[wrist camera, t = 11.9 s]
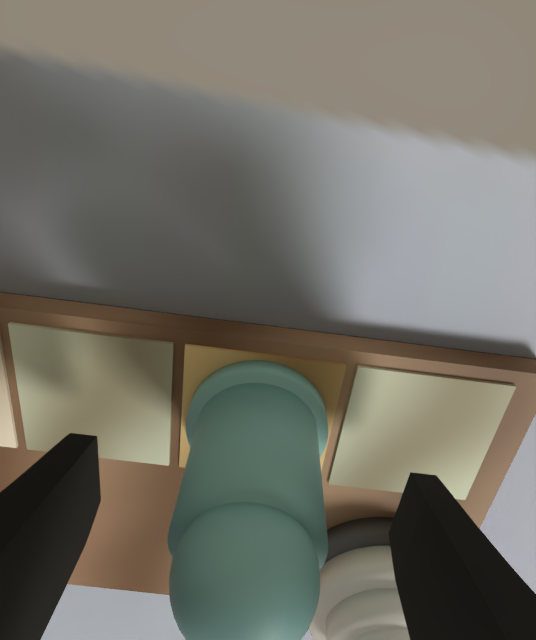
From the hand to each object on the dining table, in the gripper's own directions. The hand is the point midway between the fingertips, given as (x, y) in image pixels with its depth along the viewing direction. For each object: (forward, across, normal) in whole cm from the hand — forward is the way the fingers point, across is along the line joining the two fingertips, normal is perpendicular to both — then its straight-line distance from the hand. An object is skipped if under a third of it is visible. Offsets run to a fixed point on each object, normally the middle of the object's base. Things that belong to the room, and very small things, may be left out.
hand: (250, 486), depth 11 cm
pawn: (+2, 0, 0) cm, 2 cm away
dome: (+2, -5, +6) cm, 8 cm away
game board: (+3, +2, +3) cm, 5 cm away
